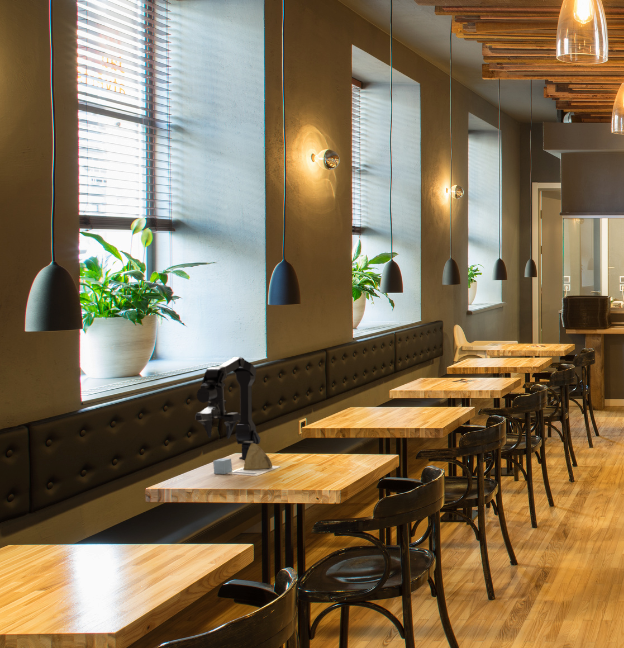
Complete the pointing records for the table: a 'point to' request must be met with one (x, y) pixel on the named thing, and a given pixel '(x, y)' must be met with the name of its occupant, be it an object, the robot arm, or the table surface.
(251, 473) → the letter
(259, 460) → the rock
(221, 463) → the cube
